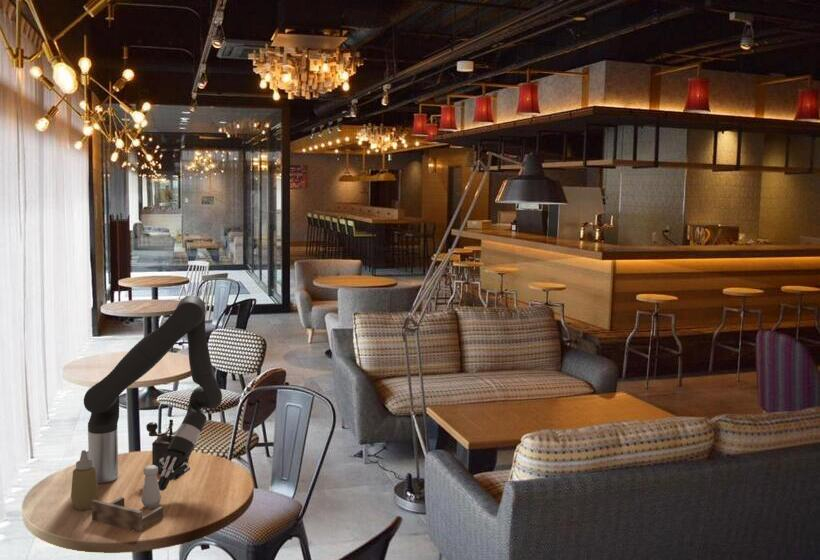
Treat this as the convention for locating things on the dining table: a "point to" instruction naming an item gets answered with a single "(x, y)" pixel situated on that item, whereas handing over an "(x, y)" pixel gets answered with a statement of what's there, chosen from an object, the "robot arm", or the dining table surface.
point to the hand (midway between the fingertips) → (159, 489)
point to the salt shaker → (151, 488)
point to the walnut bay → (123, 515)
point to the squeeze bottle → (84, 483)
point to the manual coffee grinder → (160, 440)
